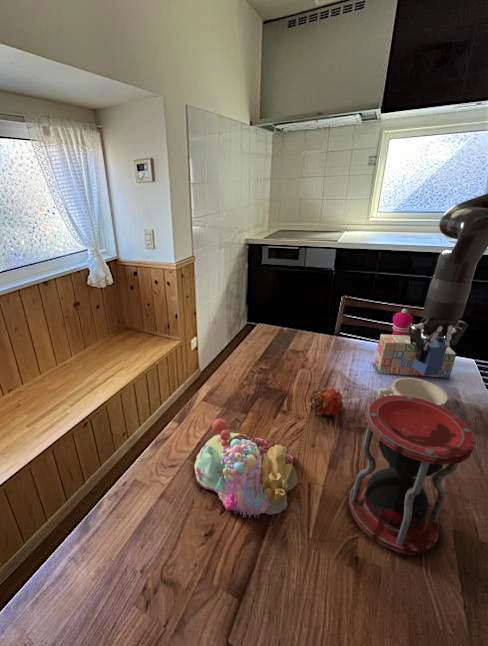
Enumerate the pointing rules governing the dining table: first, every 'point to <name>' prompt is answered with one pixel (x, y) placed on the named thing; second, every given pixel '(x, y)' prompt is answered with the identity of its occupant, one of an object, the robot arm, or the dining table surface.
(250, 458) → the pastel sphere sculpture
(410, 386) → the mug
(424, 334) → the robot arm
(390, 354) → the stack of blocks
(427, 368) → the block
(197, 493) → the dining table surface
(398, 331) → the pepper mill
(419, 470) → the hourglass
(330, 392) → the dragon fruit
